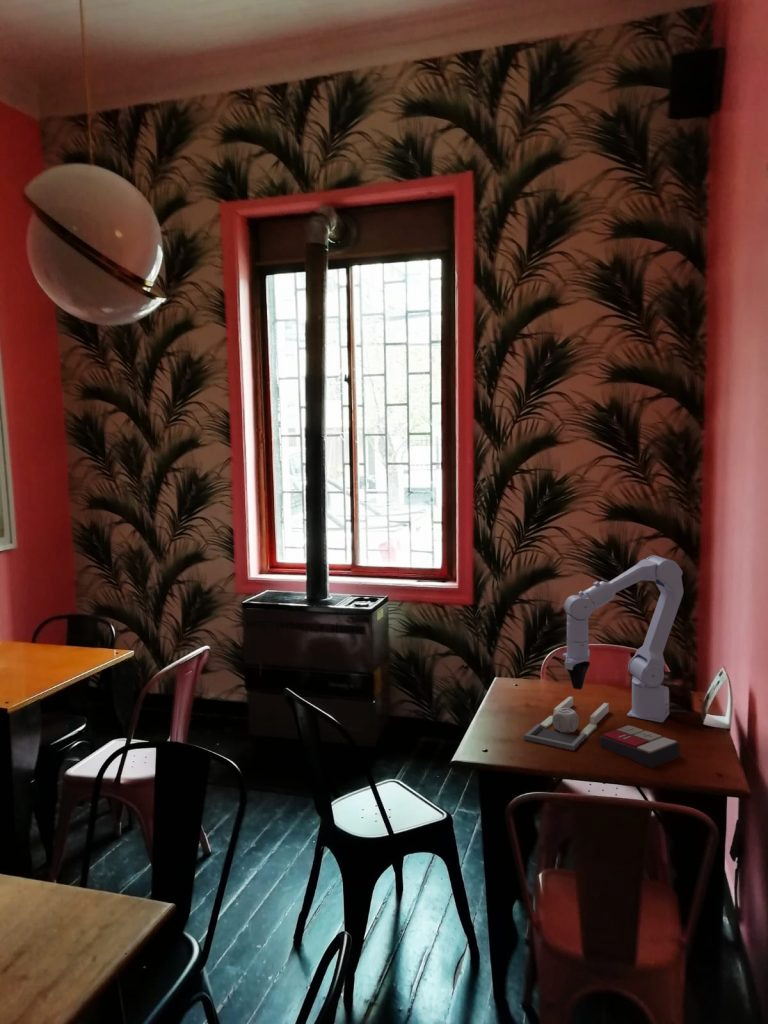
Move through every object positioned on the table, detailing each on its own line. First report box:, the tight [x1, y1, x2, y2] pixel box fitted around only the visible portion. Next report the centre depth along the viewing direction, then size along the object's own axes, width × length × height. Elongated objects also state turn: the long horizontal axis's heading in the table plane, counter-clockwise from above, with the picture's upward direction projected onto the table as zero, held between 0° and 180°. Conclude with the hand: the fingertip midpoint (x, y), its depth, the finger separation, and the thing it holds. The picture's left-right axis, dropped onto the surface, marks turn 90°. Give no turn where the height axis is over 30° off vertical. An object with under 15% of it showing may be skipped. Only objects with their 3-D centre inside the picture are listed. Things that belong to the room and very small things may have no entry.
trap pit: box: [523, 723, 587, 752], centre depth 182 cm, size 13×9×1 cm
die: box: [552, 708, 580, 734], centre depth 188 cm, size 5×5×5 cm
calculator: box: [599, 725, 681, 769], centre depth 174 cm, size 11×4×15 cm
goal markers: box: [540, 715, 598, 738], centre depth 190 cm, size 13×8×1 cm, turn 55°
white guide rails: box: [553, 696, 610, 725], centre depth 198 cm, size 11×12×2 cm
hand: (577, 688), depth 195 cm, fingers closed
